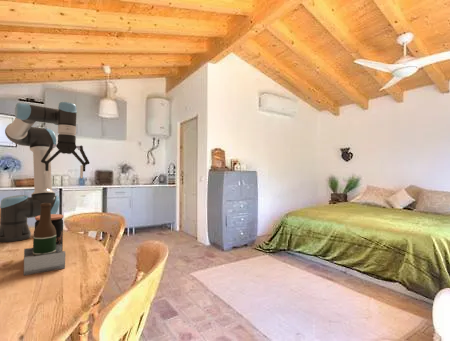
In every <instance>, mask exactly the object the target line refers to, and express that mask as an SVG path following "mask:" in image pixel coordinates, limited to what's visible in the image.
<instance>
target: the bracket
mask: <svg viewBox="0 0 450 341" xmlns="http://www.w3.org/2000/svg"><path fill="white" fill-rule="evenodd" d="M65 268H66V250H62V244H58V245H56V252H54V253H47V254H40V255H33V247H28V248H24V250H23V276H28V275H35V274H39V273H40V274H41V273H46V272H51V271H57V270H62V269H65Z"/></svg>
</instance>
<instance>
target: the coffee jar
mask: <svg viewBox="0 0 450 341" xmlns="http://www.w3.org/2000/svg"><path fill="white" fill-rule="evenodd" d="M63 218H64V214H58V213H56V214H51V222H52V224H53V225H54V227H55V229H56V245H58V244H62V251H64V250H63V244H64V243H63V242H64V241H63V240H64V234H63V233H64V219H63ZM34 219H35V222H34V229H35V228H36V227H37V225H38V224H39V221H40V216H36V217H34Z"/></svg>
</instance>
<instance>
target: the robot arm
mask: <svg viewBox="0 0 450 341" xmlns="http://www.w3.org/2000/svg"><path fill="white" fill-rule="evenodd" d="M77 113H78V111H77V105H76V104H75V103H72V102H67V101H62V102H59V103H58V107H57V108H53V107H52V108H51V107H46V106H41V105H35V104H29V103H22V102H21V103H19V102H18V103H16V104H15V106H14V117H15V118H14V119H13V121H12V122H11V123H9V124H8V125H7V126H6V128H5V130H4V134H5V136H6V138H7V139H8V140H9V141H10V142H12V143H14V144H16V145H18V146H23V147H29V151H31V152H32V160H33V161H32V162H33V182H34V183H33V185H34V186H33V187H34V188H33V190H34V191H33V192H32V193H31V196H29V195H28V194H18V195H11V196H6V197H3V198H2V199H1V200H0V243H10V242H19V241H23V240H26V239H30V238H31V232H32V231H31V230H30V228H29V225H28V219H31V218H35V217H36V216H40V213H41V206H40V205H41V204H42V203H51V206H50V208H51V214H58V211H59V208H60V207H59V206H60V197H59V196H58V195H56V192H55V191H54V190H53V184H52V161H53V160H54V159H56V157H58V156H59V155H60V154H63V155H65V154H67V155H71V154H72V155H73V156H74V157H75V159H76V160H78V162H79V163H80V164H81V165H80V166H79V167H80V173H79V177H80V179H83V178H84V176H83V175H84V172H86V167H87V165H89V164H90V161H89V159H88V157H87V155H86V152H85V151H84V146H83V145H77V144H76V142H77V139H76V138H77V136H76V135H77ZM37 122H39V123H45V124H46V123H47V124H52V125H53V124H54V125H55V126H57V133H58V134H57V136H56V133H55V132H54V130H53V129H51V128H46V127H38V126H37V127H36V126H35V127H34V126H33V125H34V124H35V123H37ZM55 148H57V151H56V152H55V153H54V154H53V155H51V152H52V151H53V150H54V149H55ZM75 150H78V151H79V152H80V154H81V156H82V157H80V156H79V154H78V152H76V151H75ZM82 158H83V159H82Z"/></svg>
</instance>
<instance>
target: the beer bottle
mask: <svg viewBox="0 0 450 341" xmlns="http://www.w3.org/2000/svg"><path fill="white" fill-rule="evenodd" d="M40 206H41V213H40V221H39V224H38V225H37V227H36V228H35V227H34V231H33V235H32V236H33V237H32V238H33V239H32V242H33V243H32V248H33V255H40V254H47V253H54V252H56V229H55V227H54V225H53V224H52V222H51V208H50V206H51V203H42V204H41V205H40Z"/></svg>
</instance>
